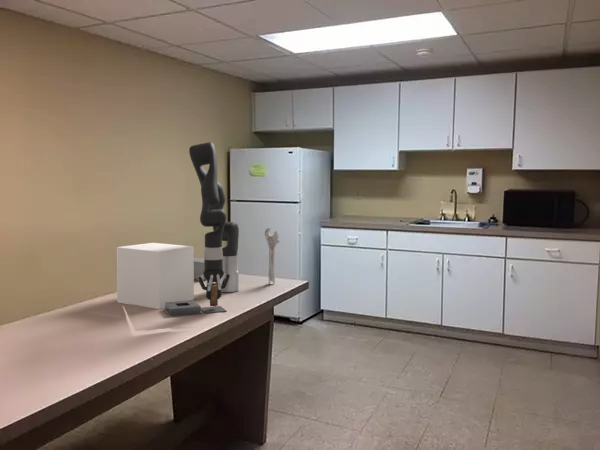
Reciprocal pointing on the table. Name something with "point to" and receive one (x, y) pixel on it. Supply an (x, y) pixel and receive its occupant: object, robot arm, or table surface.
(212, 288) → the wooden peg
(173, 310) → the gray square frame
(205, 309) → the mat
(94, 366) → the table surface
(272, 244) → the wrench
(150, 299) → the cube
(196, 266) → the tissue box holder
